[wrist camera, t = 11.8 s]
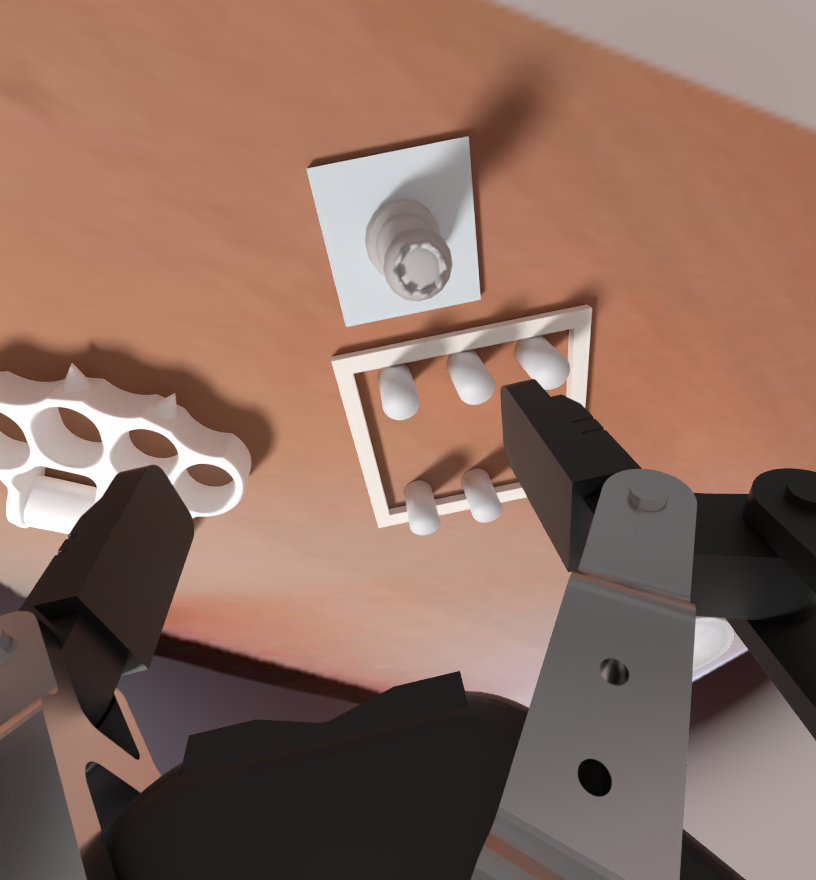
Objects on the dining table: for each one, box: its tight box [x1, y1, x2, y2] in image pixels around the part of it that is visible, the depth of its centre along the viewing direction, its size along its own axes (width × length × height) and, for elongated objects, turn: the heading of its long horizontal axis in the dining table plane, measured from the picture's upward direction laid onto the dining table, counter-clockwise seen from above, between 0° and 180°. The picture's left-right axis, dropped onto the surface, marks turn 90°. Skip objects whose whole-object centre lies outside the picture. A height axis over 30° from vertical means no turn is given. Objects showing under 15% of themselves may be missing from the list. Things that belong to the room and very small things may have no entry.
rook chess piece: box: [365, 198, 453, 301], centre depth 24 cm, size 4×4×8 cm
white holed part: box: [0, 363, 251, 534], centre depth 32 cm, size 3×18×15 cm
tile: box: [306, 136, 481, 327], centre depth 27 cm, size 9×9×1 cm
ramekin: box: [693, 616, 735, 671], centre depth 51 cm, size 11×11×5 cm
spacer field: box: [331, 304, 592, 535], centre depth 34 cm, size 18×16×4 cm
